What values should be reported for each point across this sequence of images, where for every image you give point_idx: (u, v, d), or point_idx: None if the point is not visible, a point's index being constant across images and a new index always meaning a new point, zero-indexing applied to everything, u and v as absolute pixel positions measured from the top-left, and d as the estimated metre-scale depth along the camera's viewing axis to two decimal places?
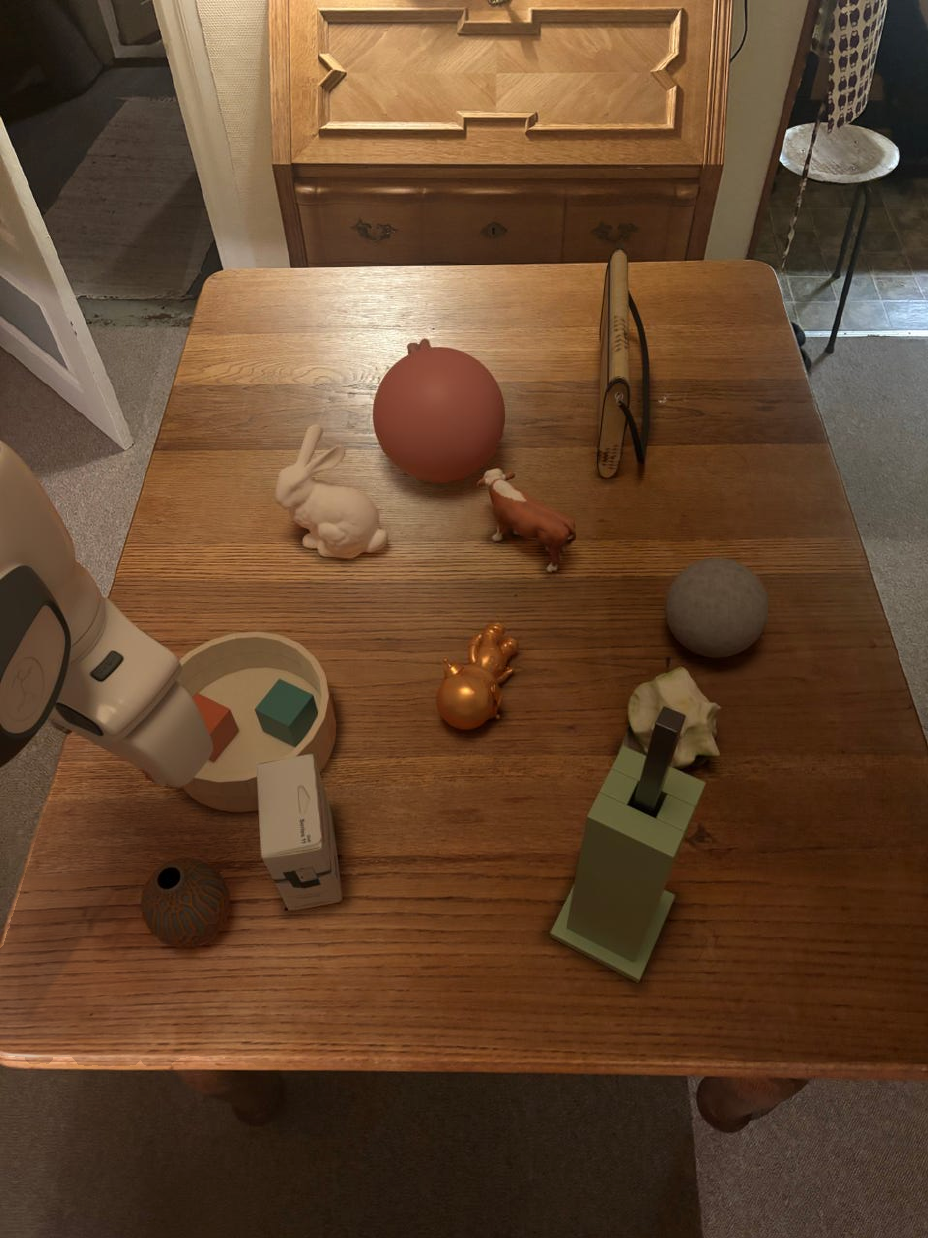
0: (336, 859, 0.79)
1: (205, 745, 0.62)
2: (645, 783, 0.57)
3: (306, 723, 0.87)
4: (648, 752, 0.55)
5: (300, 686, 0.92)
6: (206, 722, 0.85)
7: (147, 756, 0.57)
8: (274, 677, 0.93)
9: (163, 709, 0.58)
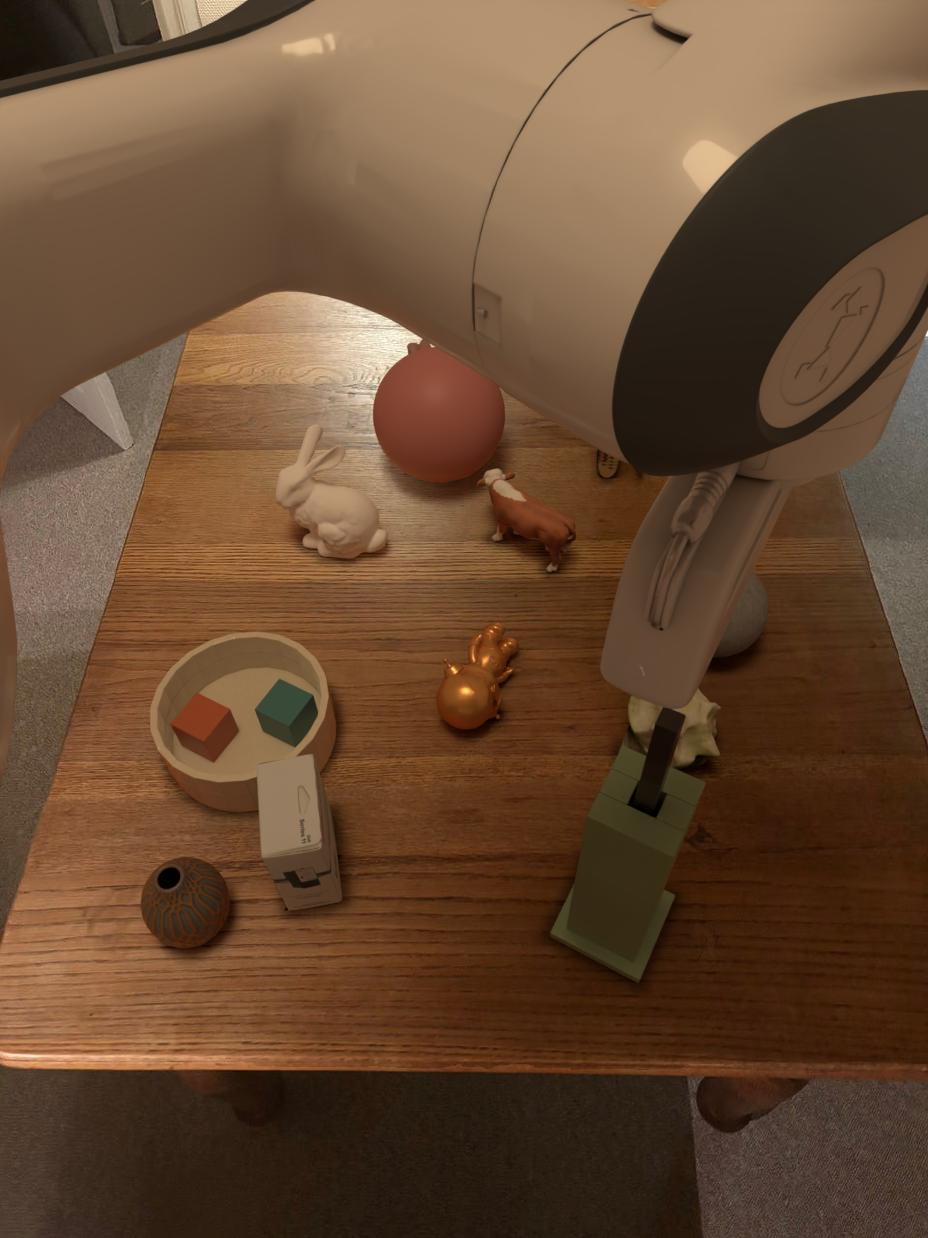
0: (336, 859, 0.79)
1: None
2: (645, 783, 0.57)
3: (306, 723, 0.87)
4: (648, 752, 0.55)
5: (300, 686, 0.92)
6: (206, 722, 0.85)
7: None
8: (274, 677, 0.93)
9: None
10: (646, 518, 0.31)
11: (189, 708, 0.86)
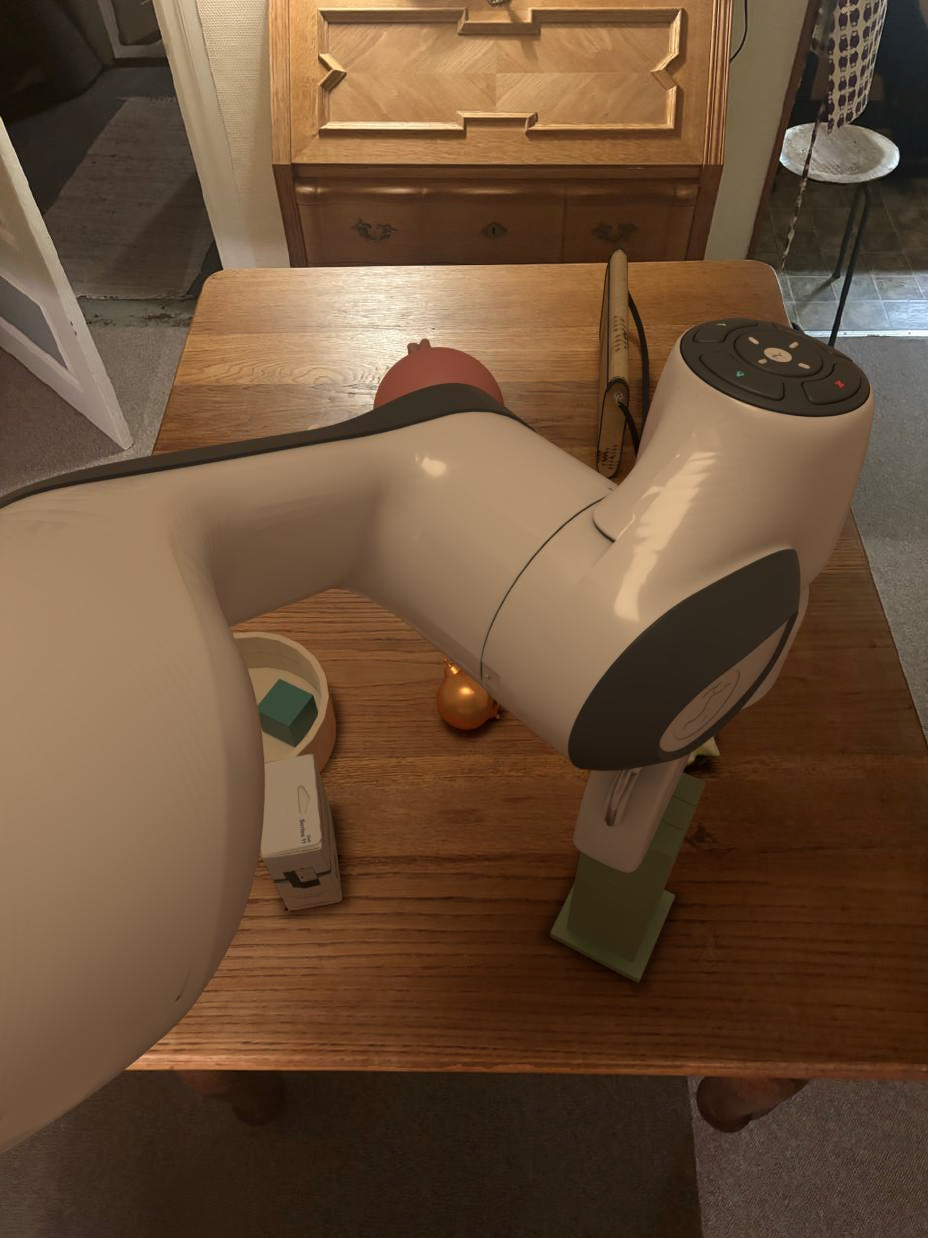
0: (336, 859, 0.79)
1: None
2: None
3: (306, 723, 0.87)
4: None
5: (300, 686, 0.92)
6: None
7: None
8: (274, 677, 0.93)
9: None
10: None
11: None
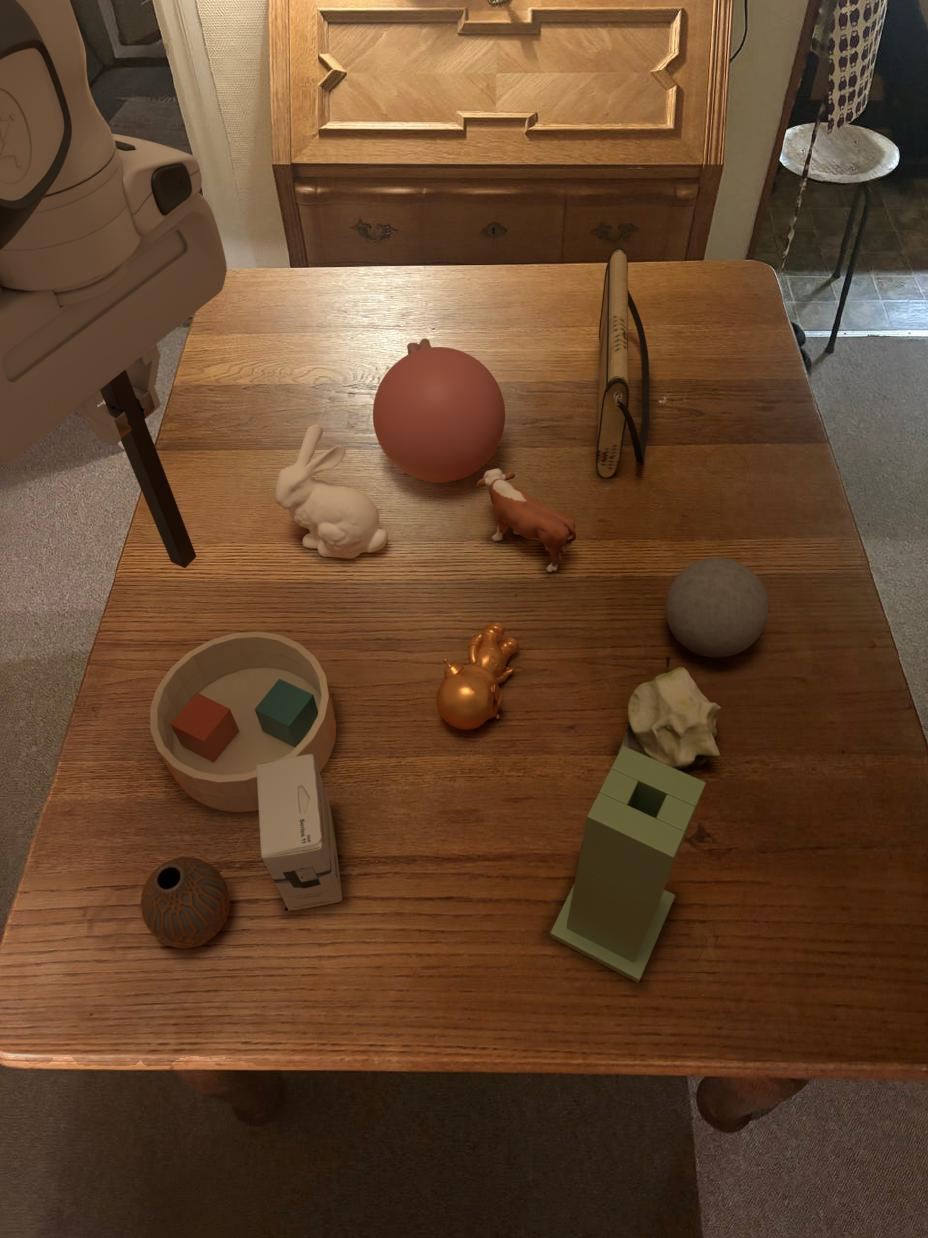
0: (336, 859, 0.79)
1: None
2: (128, 452, 0.60)
3: (306, 723, 0.87)
4: None
5: (300, 686, 0.92)
6: (206, 722, 0.85)
7: (210, 209, 0.54)
8: (274, 677, 0.93)
9: None
10: None
11: (189, 708, 0.86)
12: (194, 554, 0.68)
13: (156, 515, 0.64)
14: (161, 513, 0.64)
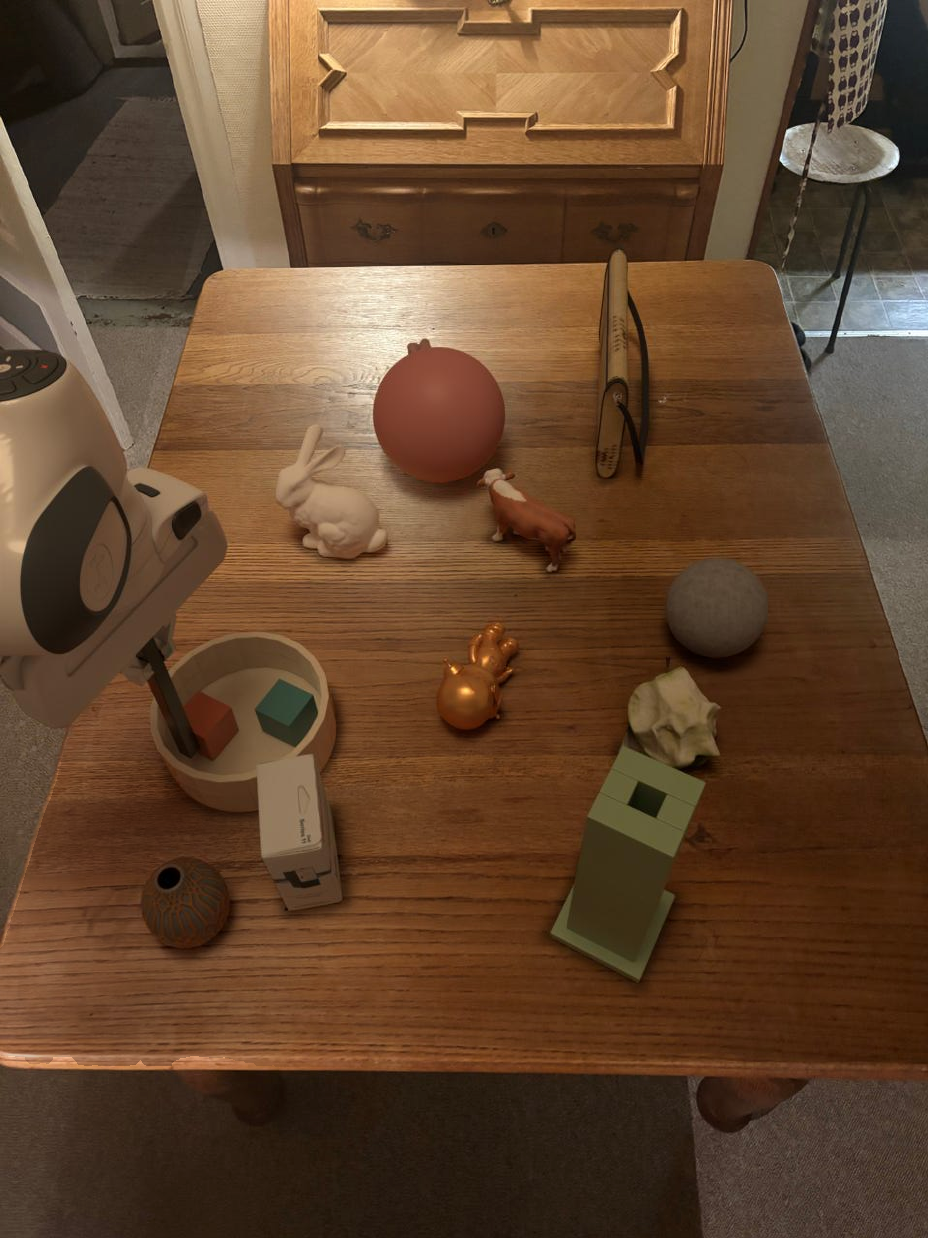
0: (336, 859, 0.79)
1: None
2: (150, 684, 0.77)
3: (306, 723, 0.87)
4: None
5: (300, 686, 0.92)
6: (207, 719, 0.85)
7: (215, 515, 0.72)
8: (274, 677, 0.93)
9: None
10: None
11: (190, 705, 0.86)
12: (198, 747, 0.85)
13: (169, 724, 0.81)
14: (174, 723, 0.81)
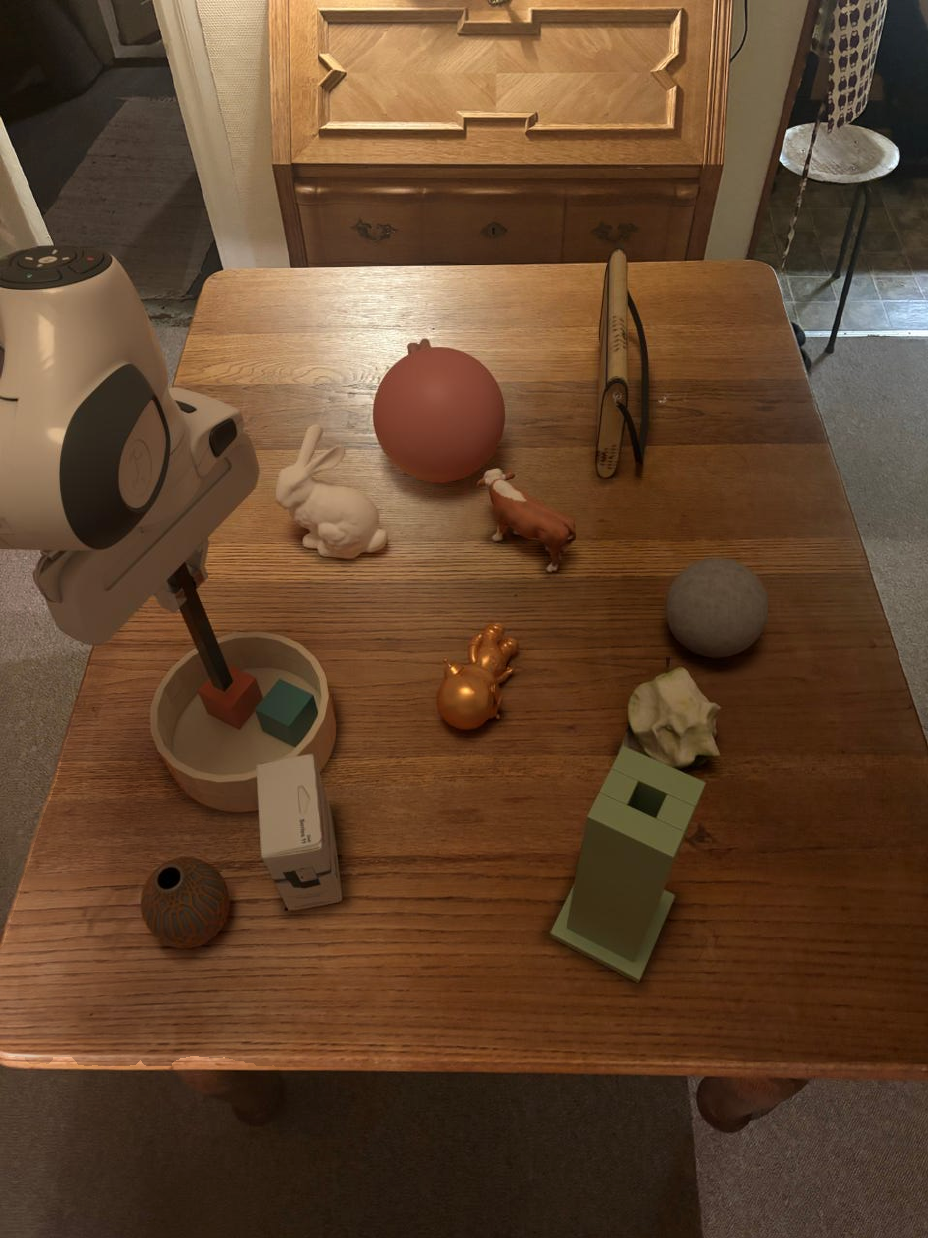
0: (336, 859, 0.79)
1: None
2: (184, 614, 0.77)
3: (306, 723, 0.87)
4: None
5: (300, 686, 0.92)
6: None
7: (249, 438, 0.71)
8: (274, 677, 0.93)
9: None
10: None
11: None
12: (231, 680, 0.86)
13: (203, 656, 0.81)
14: (207, 655, 0.81)
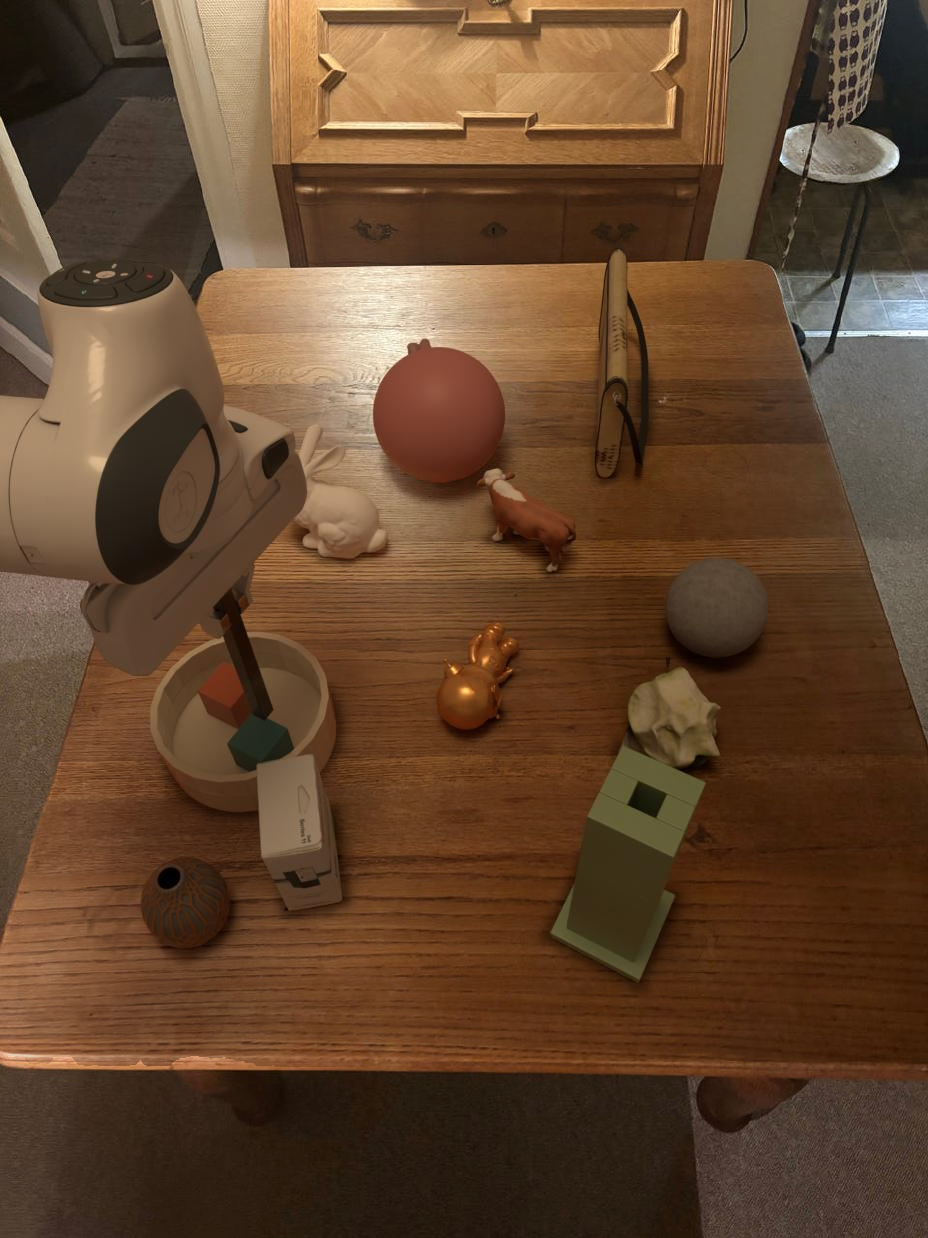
0: (336, 859, 0.79)
1: None
2: (228, 643, 0.74)
3: (282, 750, 0.85)
4: None
5: (300, 686, 0.92)
6: None
7: (299, 458, 0.68)
8: (274, 677, 0.93)
9: None
10: None
11: None
12: (272, 708, 0.83)
13: (245, 684, 0.78)
14: (249, 684, 0.78)
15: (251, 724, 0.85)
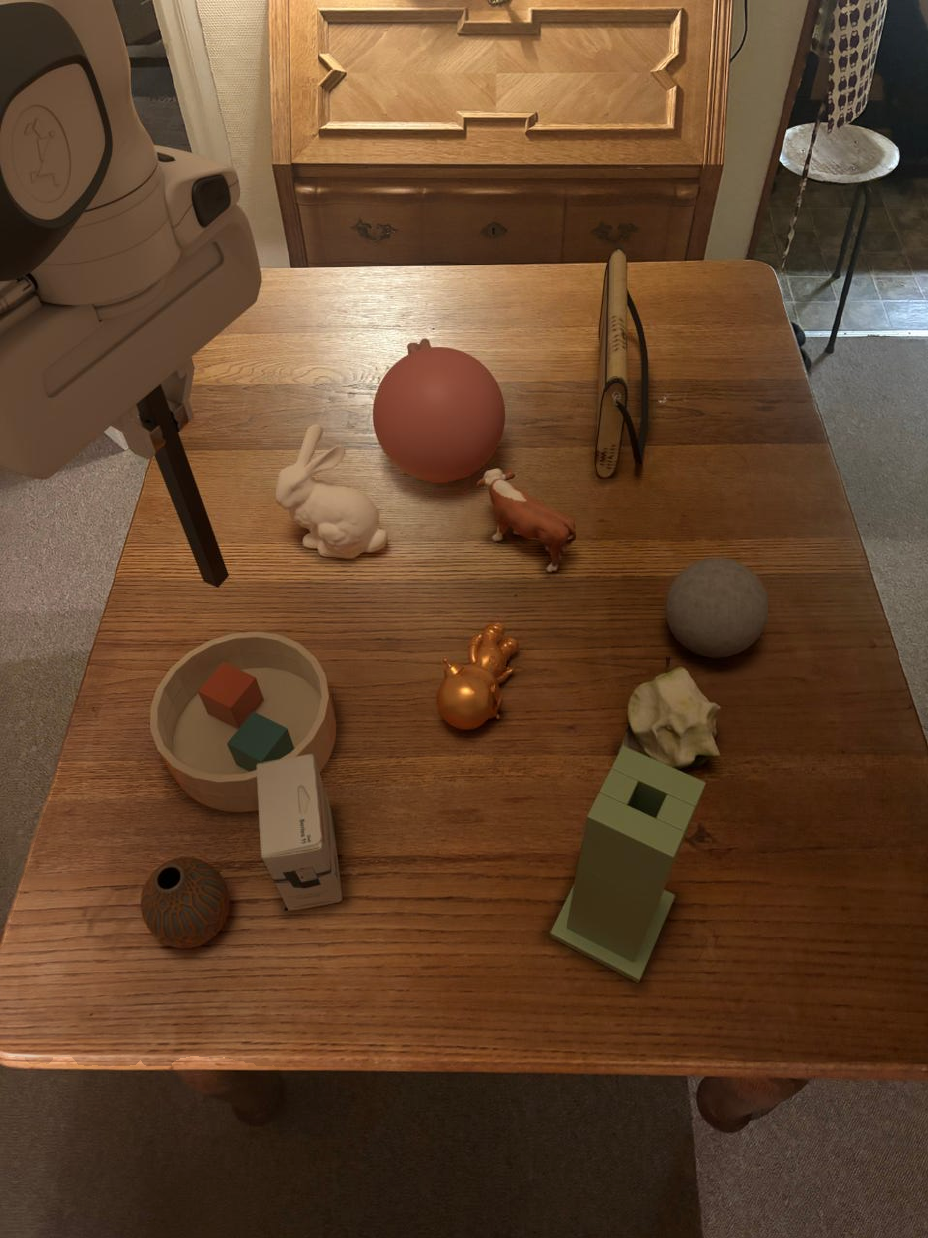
0: (336, 859, 0.79)
1: None
2: (164, 473, 0.59)
3: (282, 750, 0.85)
4: None
5: (300, 686, 0.92)
6: None
7: (247, 220, 0.54)
8: (274, 677, 0.93)
9: None
10: None
11: None
12: (227, 573, 0.68)
13: (190, 535, 0.64)
14: (195, 533, 0.63)
15: (251, 724, 0.85)
